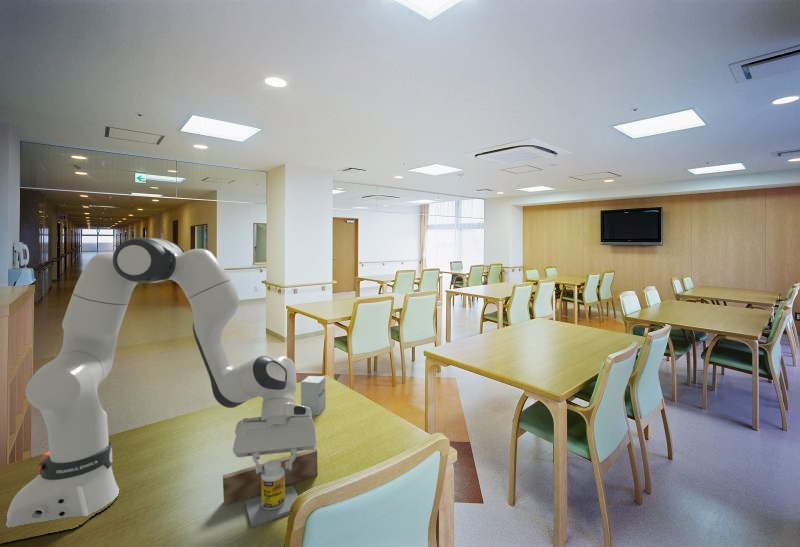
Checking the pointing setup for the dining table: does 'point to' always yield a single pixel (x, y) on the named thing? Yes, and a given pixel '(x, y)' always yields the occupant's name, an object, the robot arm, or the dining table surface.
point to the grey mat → (263, 515)
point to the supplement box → (313, 394)
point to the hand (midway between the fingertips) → (274, 471)
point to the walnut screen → (250, 482)
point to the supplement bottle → (272, 485)
